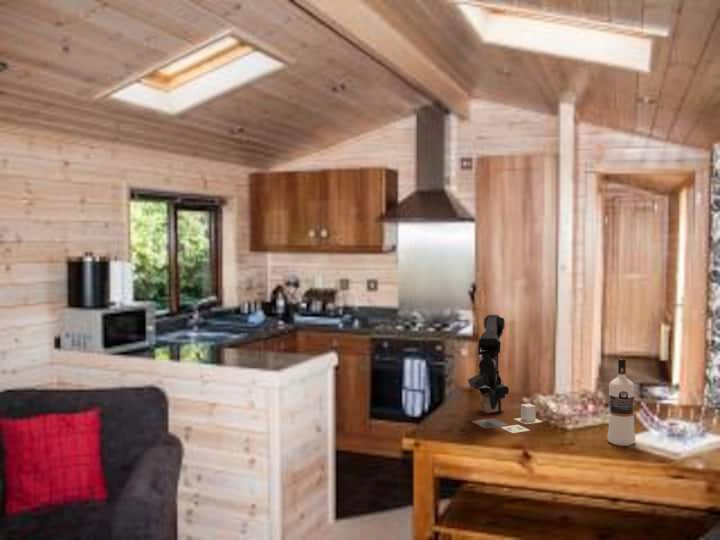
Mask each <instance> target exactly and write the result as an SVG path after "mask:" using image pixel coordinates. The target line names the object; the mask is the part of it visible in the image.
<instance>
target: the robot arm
mask: <svg viewBox="0 0 720 540" xmlns="http://www.w3.org/2000/svg"><path fill="white" fill-rule="evenodd" d="M483 328H484V330H485V331H484V332H482V333H481V335H480V338H479V339H478V348H477V355H478V356H481V359H480V361H479V363H478V368H479V371H478V374H477V375H474V376H472V377H470V378H469V379H467V381H468V382H467V383H468V385H469V387H470V388H471V389H473V390H477V391H478V392H479V395H481V394H489V395H490V398H491V407H492V409H495V407H496V405H497V403H498V411H497V412H490V413H489V414H491V415H494V414H501V413H504V412H505V411H504V410H503V409H502V399H503V400H504V398H506V395H508V394H510V388H509V387H508V386H507V385H504V383H503V380H502V378H501V377H500V371H499V367H500V366H499V363H500V362H499V361H500V360H499V357H500V356H499V355H500V354H501V347H502V346H501V345H502V342H501V341H500V339H501V337H502V336H503V334H504V330H505V329H506V321H505V318H503V317H501V316H499V314H487V315H486V317H484V318H483Z"/></svg>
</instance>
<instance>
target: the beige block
mask: <svg viewBox="0 0 720 540" xmlns="http://www.w3.org/2000/svg"><path fill="white" fill-rule="evenodd" d="M536 415H537V414H536V405H534V404H531V403H522V404H520V418H521V420H523V421H526V422H532V421H536V419H537V417H536Z"/></svg>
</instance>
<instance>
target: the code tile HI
mask: <svg viewBox="0 0 720 540" xmlns="http://www.w3.org/2000/svg"><path fill="white" fill-rule="evenodd" d="M514 420H515V421H517V422H520V423H522V424H523V425H524V424H525V425H530V424H536V423H537V424H538V423H543V422H542V420H540V419H538V418H536V421H532V422H526V421H523V420H521V417H518V418H514Z"/></svg>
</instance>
